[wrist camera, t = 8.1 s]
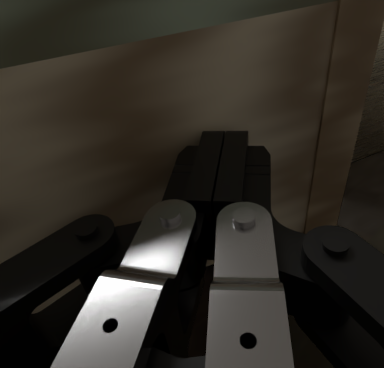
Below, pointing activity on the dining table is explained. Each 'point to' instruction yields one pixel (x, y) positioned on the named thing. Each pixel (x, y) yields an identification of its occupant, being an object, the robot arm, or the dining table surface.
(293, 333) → the dining table surface
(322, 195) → the gate
